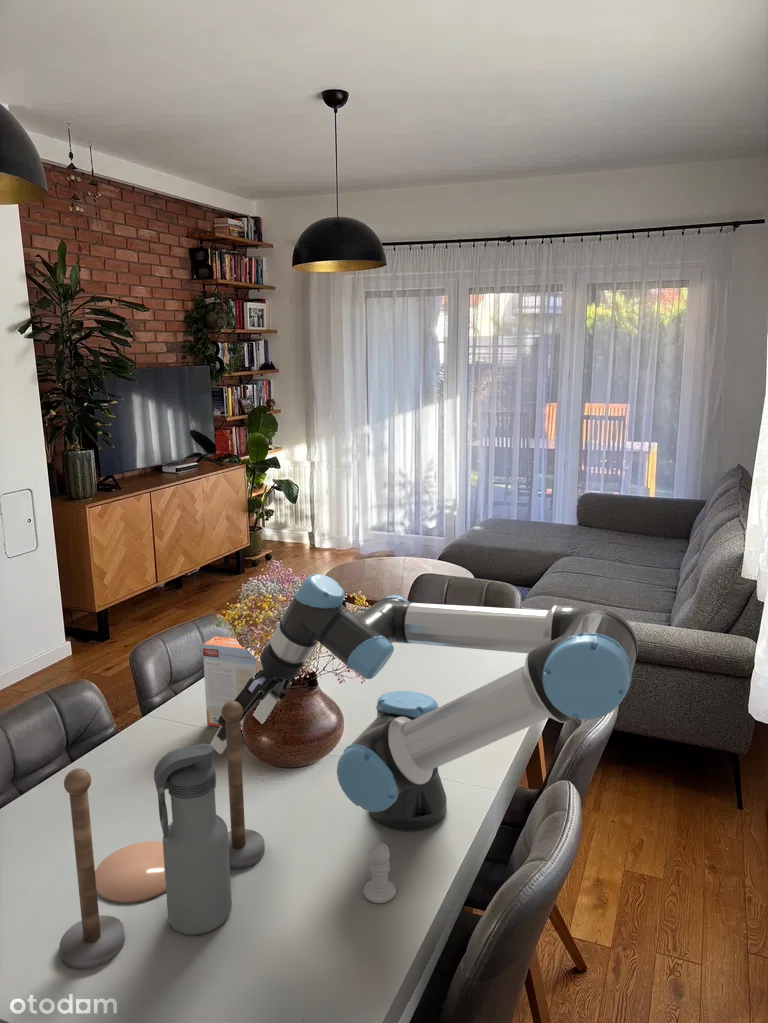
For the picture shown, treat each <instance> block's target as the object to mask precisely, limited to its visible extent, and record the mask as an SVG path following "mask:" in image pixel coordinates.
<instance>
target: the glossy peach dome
mask: <svg viewBox="0 0 768 1023" xmlns="http://www.w3.org/2000/svg"><path fill="white" fill-rule="evenodd" d="M95 877H96V888H97V895H99V897H101V898H103V899H104V900H107V901H108V902H109V901H110V902H112V903H119V904H132V903H133V904H134V903H139V902H144V901H148V900H150V899H153V898H157V897H158V896H161V895H162V894H164V893H166V881H165V867H164V853H163V841H156V840H155V841H154V840H153V841H152V840H151V841H150V840H149V841H141V842H137V843H133V844H129V845H126V846H124V847H122V848H119V849H117V850H115V851H114V852H112V853H111V854H109V855H108V856H106V858H104V859H103V860H102V861H101V862H100V863H99V864H98V866H97V867H96V868H95Z"/></svg>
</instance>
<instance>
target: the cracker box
mask: <svg viewBox="0 0 768 1023" xmlns="http://www.w3.org/2000/svg"><path fill="white" fill-rule="evenodd" d="M236 639H237V638H231V637H224V636H218V635H216V636H213V637H212V638H210V639H209V640H207V641H205V642H204V643H202V652H203V670H204V671H203V672H204V673H203V674H204V675H203V676H204V694H205V705H206V706H205V709H206V724H207V726H209V727H216V728H220V726H221V725H220V724H219V723H218V720H219V717H220V716H222V714H221V711H222V708H223V706H224V705H225V704H226V703H227V702H229V701H234V700H235V699H236V698H237V696H238V695H239V694H240V692H241V691H242V690H243V689H244V687H245V686H246V684H247V682H248V681H249V679H250V678H252V677H253V678H254V679H255V675H256V673H258V672H259V671H260V670H262V669H263V667H262V664H260V663H259V662H258V661H257V660H256V659H255V658H254V657H253V656H252V655H251V653H250V651H248V650H246V649H245V648H244V647H242V646H241V645H240V644H239V642H238V641H237V640H236ZM243 719H244V718H243ZM243 719H242V720H241V722H240V732H242V731H241V727H242V721H243Z"/></svg>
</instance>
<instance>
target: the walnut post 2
mask: <svg viewBox="0 0 768 1023" xmlns="http://www.w3.org/2000/svg"><path fill="white" fill-rule="evenodd" d="M221 714H222V717H223V719H224V720H225V722H226V741H227V747H226V756H227V757H226V758H227V760H226V761H227V776H228V778H227V780H228V795H229V796H228V797H229V800H228V801H229V815H230V817H229V819H230V831H228V844H229V864H230V870H242V869H245V868H249V867H251V866H253V865H255V864H256V863H259V861H260V860H261V859H262V858H263V856H264V854H265V852H266V849H265V846H266V844H265V838H264V836H263V835H262V834H261V833H259V832H257V831H255V830H252V829H247V828H246V825H245V805H244V803H245V802H244V799H245V798H244V782H243V781H244V780H243V765H242V764H243V760H242V759H243V757H242V738H241V737H242V736H241V731H240V718H241V717H242V714H243V708H242V706H241V704H240V703H238V702H236V701H229V702H227V703H226V704H225V705H224V706H223V708H222V711H221Z"/></svg>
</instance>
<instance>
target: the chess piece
mask: <svg viewBox="0 0 768 1023" xmlns="http://www.w3.org/2000/svg"><path fill="white" fill-rule="evenodd" d="M390 854H391V853H390V848H389V847H388V845H387V844H386V843H384V842H376V843H374V844H372V845H371V847H370V850H369V859H370V861H369V863H368V864H369V868H368V869H369V872H370V873H371V879H370V880H368V881H367V882H366V883H365V884H364V886H363V888H362V891H363V892H362V893H363V895H364V897H365V898H366V900H368V901H370V902H372V903H374V904H384V903H388V902H390V901H391V900H393V899H394V897H395V896H396V892H397V889H396V886H395V884H394V883H393V882H392V881H391V880H389V876H388V875H389V872H390V870H391V867H390V865H391V862H390V856H391V855H390Z"/></svg>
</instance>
